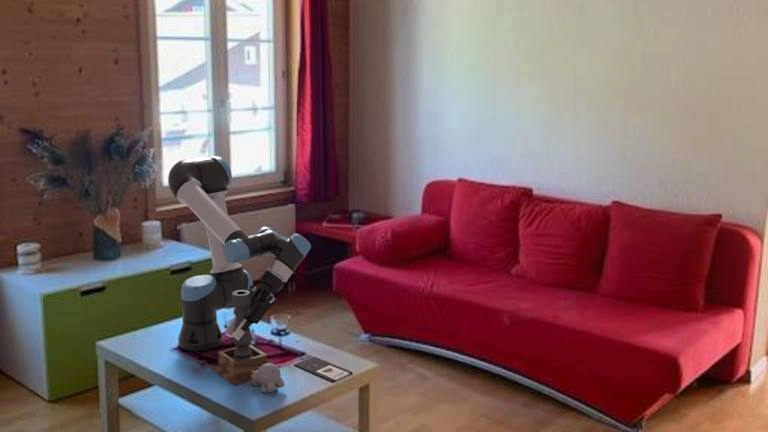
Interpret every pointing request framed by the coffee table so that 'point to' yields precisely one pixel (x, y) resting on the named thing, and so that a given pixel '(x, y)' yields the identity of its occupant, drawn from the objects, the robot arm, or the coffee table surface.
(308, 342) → the coffee table surface
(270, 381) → the chubby cartoon animal
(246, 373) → the open wooden box
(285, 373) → the coffee table surface
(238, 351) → the candle holder
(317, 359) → the chocolate bar
